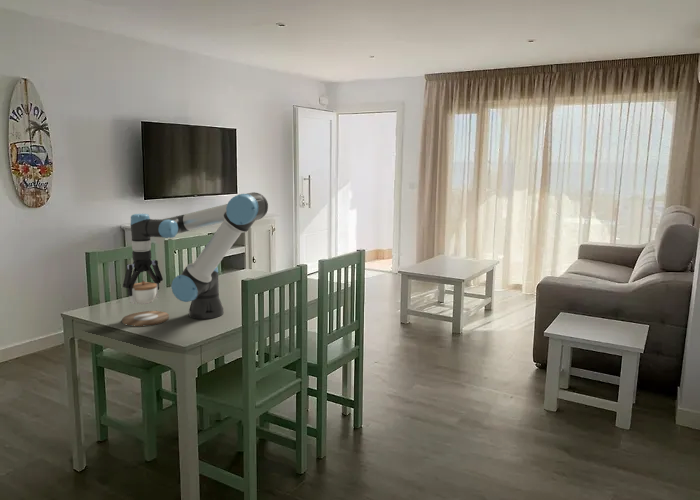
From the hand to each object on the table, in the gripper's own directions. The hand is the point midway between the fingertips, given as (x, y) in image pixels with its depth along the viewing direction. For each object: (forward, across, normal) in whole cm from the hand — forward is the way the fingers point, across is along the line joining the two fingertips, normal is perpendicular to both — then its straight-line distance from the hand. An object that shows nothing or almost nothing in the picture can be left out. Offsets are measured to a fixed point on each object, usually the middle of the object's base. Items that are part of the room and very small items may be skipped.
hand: (144, 300), depth 235 cm
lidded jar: (+1, 0, 0) cm, 1 cm away
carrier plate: (+9, 0, 0) cm, 9 cm away
